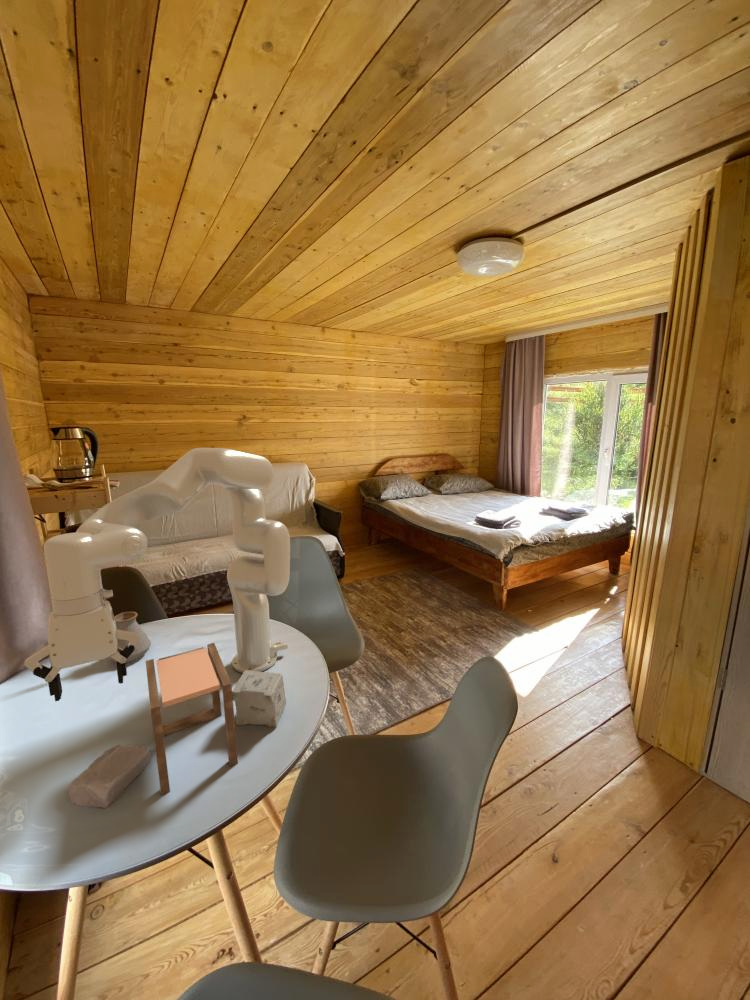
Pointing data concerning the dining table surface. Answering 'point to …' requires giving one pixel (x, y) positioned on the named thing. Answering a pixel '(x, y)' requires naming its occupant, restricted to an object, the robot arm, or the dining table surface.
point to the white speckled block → (259, 698)
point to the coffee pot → (128, 623)
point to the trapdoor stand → (194, 719)
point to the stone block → (109, 775)
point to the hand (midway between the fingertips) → (90, 688)
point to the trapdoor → (186, 676)
